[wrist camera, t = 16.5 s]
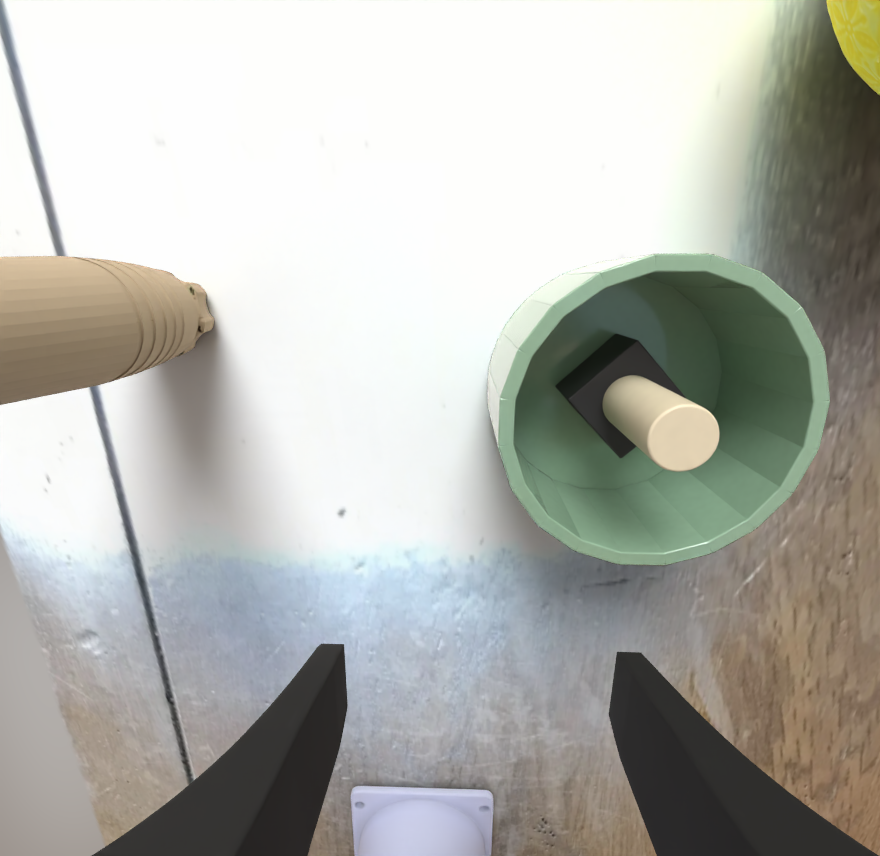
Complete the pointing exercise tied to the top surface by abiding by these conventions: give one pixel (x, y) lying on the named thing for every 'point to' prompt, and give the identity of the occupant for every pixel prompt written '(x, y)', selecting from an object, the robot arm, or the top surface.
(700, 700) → the top surface
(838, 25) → the bowl
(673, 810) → the robot arm
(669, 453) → the brush
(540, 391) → the beaker
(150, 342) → the handle
